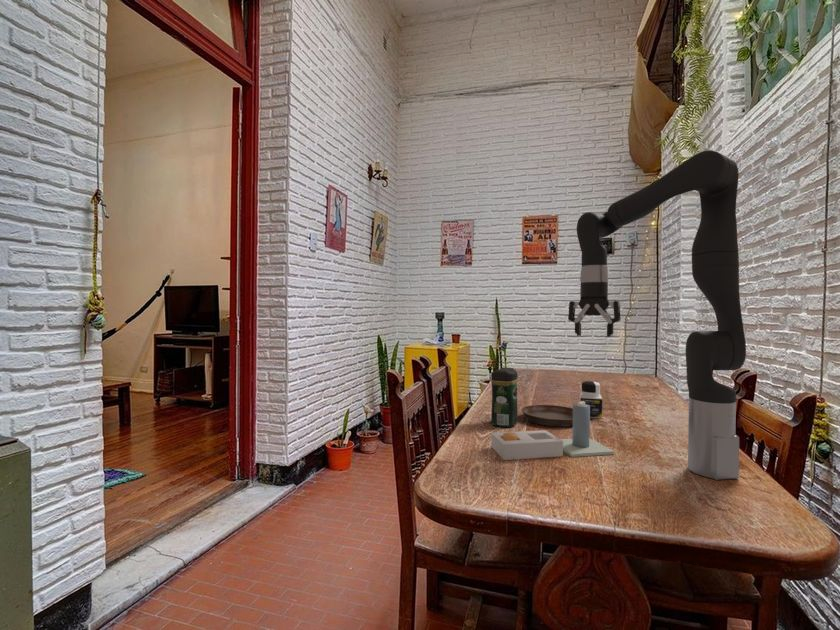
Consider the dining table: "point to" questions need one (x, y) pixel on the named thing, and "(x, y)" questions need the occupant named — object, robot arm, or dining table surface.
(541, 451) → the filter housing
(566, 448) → the pad
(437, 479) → the dining table surface
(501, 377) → the coffee jar
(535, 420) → the plant saucer
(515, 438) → the orange rounded piece
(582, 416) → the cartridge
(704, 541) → the dining table surface
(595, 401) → the medicine bottle
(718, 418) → the robot arm
